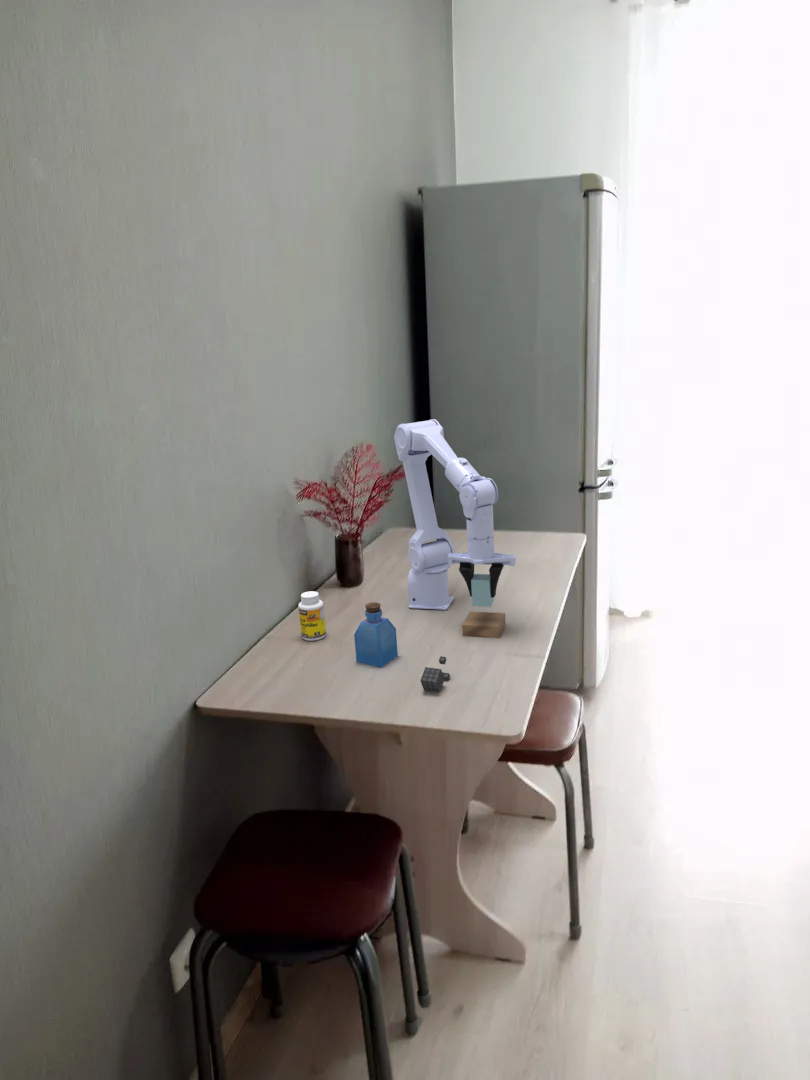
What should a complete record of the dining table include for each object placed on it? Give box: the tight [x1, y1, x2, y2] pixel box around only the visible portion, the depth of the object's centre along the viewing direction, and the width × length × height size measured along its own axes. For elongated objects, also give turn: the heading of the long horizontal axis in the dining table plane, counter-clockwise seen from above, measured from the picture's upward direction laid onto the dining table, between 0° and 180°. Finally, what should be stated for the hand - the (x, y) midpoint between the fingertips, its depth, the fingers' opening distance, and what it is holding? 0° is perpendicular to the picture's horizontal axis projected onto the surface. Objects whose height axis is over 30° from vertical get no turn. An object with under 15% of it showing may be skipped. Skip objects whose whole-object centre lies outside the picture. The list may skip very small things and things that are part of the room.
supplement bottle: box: [297, 590, 327, 642], centre depth 181 cm, size 6×6×10 cm
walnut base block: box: [461, 610, 507, 639], centre depth 180 cm, size 8×8×3 cm
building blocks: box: [419, 655, 451, 693], centre depth 156 cm, size 3×6×8 cm
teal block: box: [471, 573, 495, 608], centre depth 178 cm, size 4×4×6 cm
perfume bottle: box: [353, 601, 399, 669], centre depth 168 cm, size 6×6×12 cm
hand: (482, 595), depth 178 cm, fingers closed on teal block, 4 cm apart
